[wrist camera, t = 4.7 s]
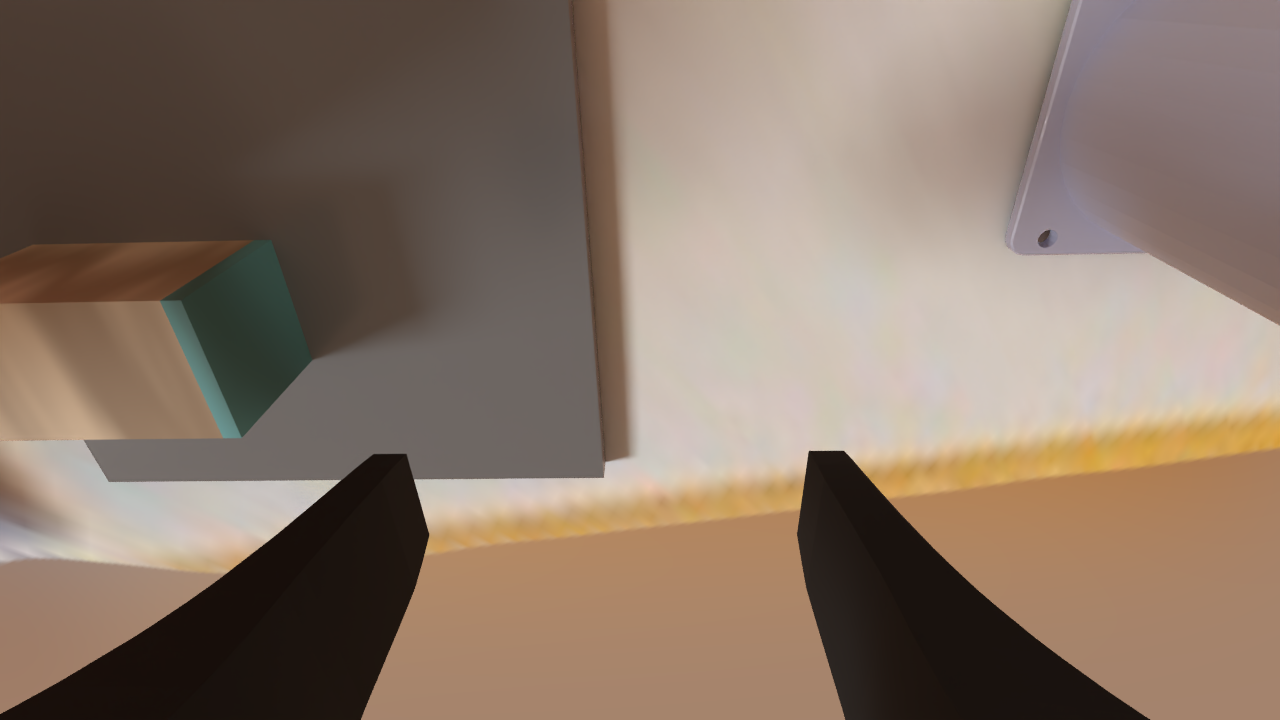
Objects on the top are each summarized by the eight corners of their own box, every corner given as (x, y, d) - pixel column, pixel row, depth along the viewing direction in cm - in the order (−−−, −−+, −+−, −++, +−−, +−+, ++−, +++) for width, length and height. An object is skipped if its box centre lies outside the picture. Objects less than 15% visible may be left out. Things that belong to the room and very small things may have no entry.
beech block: (180, 300, 15) (-112, 305, 15) (241, 438, 17) (-16, 440, 17) (270, 239, 18) (32, 244, 18) (312, 360, 20) (97, 363, 20)
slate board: (567, -65, 15) (562, -67, 14) (605, 462, 23) (603, 477, 22) (-169, -40, 15) (-207, -40, 15) (125, 467, 24) (109, 481, 23)
